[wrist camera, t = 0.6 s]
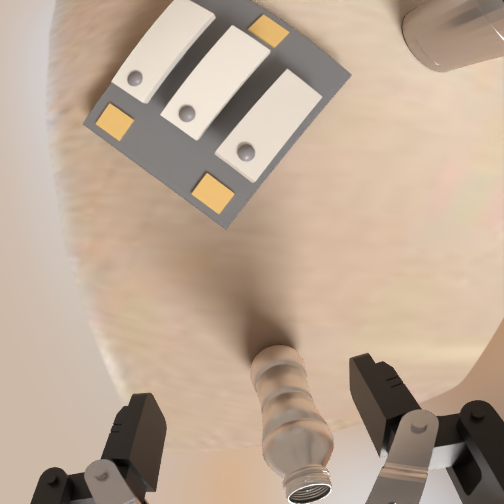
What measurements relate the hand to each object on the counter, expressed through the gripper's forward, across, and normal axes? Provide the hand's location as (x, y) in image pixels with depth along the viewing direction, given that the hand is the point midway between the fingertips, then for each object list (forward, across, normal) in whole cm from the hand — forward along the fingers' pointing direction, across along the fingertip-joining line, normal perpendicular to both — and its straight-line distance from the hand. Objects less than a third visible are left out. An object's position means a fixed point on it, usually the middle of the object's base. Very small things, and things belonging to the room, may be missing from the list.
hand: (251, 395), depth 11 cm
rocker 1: (+18, +3, -20) cm, 27 cm away
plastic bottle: (+23, -1, +16) cm, 28 cm away
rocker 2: (+18, -5, -11) cm, 21 cm away
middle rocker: (+18, -1, -16) cm, 24 cm away
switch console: (+23, -1, -16) cm, 28 cm away
